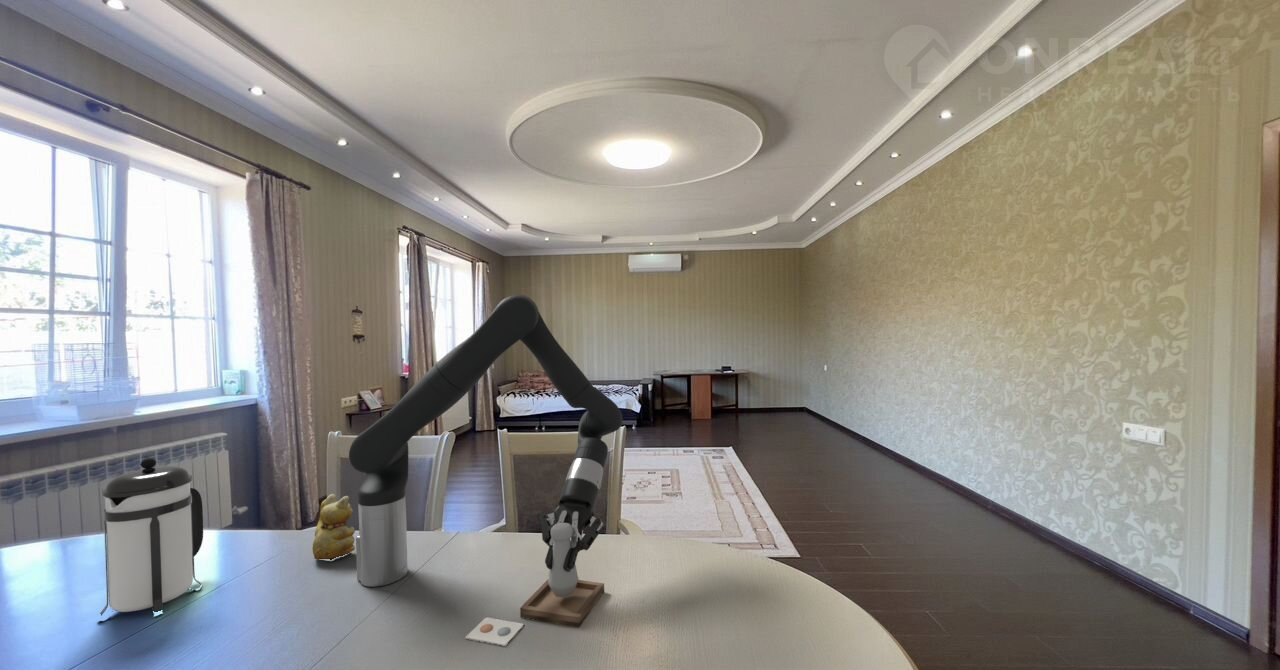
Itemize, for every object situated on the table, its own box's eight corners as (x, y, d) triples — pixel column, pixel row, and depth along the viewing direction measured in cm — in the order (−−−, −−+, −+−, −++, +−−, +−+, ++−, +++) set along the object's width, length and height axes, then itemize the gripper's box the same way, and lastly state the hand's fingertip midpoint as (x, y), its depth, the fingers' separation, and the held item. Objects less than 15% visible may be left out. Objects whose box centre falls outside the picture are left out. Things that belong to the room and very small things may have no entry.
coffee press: (213, 599, 99) (208, 454, 98) (96, 637, 87) (90, 472, 87) (204, 572, 110) (200, 443, 110) (100, 602, 99) (95, 457, 99)
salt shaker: (572, 601, 90) (570, 532, 89) (543, 598, 91) (541, 530, 91) (582, 584, 95) (580, 520, 95) (555, 582, 96) (553, 518, 96)
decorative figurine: (363, 552, 119) (361, 491, 119) (334, 568, 111) (332, 503, 111) (330, 549, 121) (329, 490, 121) (301, 564, 113) (298, 501, 113)
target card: (465, 638, 83) (465, 636, 83) (486, 618, 89) (486, 616, 89) (505, 646, 81) (505, 643, 81) (524, 625, 86) (524, 622, 86)
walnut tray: (520, 617, 89) (520, 607, 89) (551, 584, 100) (550, 576, 100) (579, 627, 85) (579, 617, 85) (604, 592, 97) (604, 583, 97)
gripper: (546, 474, 102) (517, 557, 90) (608, 478, 98) (585, 566, 86) (559, 491, 107) (532, 571, 96) (617, 495, 103) (597, 580, 91)
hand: (558, 568), depth 91 cm, fingers closed on salt shaker, 3 cm apart
